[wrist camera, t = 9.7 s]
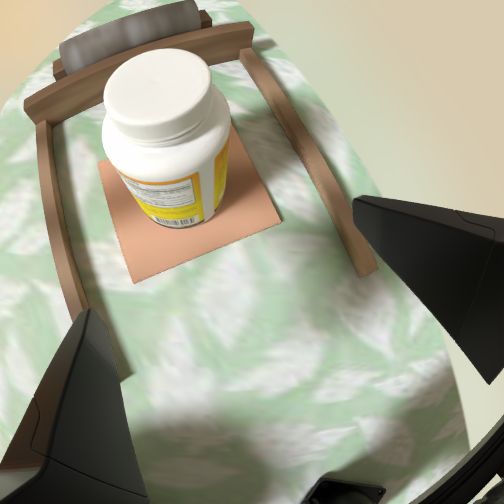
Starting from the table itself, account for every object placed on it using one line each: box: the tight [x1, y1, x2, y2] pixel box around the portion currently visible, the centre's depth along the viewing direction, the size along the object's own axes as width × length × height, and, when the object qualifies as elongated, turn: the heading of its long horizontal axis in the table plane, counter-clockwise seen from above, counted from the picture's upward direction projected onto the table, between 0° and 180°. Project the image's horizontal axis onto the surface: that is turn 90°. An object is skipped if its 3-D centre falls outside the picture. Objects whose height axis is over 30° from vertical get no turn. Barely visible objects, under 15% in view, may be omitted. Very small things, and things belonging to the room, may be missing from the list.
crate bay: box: [24, 0, 379, 322], centre depth 17 cm, size 25×19×5 cm
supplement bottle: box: [102, 49, 231, 230], centre depth 14 cm, size 6×6×10 cm
